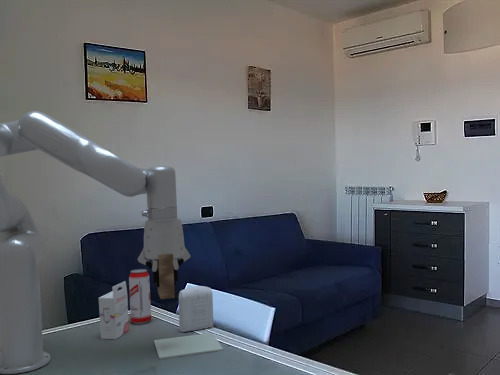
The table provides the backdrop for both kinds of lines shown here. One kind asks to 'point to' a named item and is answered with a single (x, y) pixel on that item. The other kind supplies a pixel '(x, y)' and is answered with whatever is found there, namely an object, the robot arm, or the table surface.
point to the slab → (166, 276)
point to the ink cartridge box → (114, 313)
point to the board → (187, 345)
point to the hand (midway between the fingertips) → (165, 284)
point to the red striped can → (139, 296)
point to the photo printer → (195, 308)
